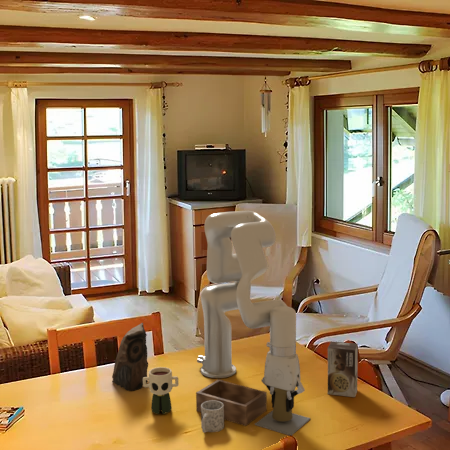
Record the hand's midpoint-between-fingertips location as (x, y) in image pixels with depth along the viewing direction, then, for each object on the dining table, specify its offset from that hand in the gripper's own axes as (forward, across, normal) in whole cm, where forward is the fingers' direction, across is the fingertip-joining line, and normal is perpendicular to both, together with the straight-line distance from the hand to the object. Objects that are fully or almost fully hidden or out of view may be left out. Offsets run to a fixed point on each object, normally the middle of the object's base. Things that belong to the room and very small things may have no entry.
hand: (282, 407), depth 189 cm
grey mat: (+4, 0, 0) cm, 4 cm away
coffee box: (+5, +6, +29) cm, 30 cm away
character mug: (+5, -35, -14) cm, 38 cm away
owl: (+5, -58, -3) cm, 58 cm away
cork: (+3, 0, 0) cm, 3 cm away
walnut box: (+5, -17, -2) cm, 18 cm away
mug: (+5, -15, -15) cm, 22 cm away
